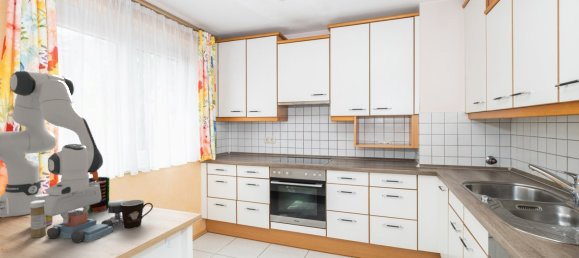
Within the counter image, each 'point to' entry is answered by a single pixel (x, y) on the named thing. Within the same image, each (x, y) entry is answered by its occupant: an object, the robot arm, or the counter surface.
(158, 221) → the counter surface
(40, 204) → the sprinkles bottle
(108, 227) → the chassis
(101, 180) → the motor
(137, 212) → the coffee mug
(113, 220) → the axle mount
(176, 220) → the counter surface
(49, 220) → the supplement bottle
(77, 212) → the block
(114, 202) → the wheel
